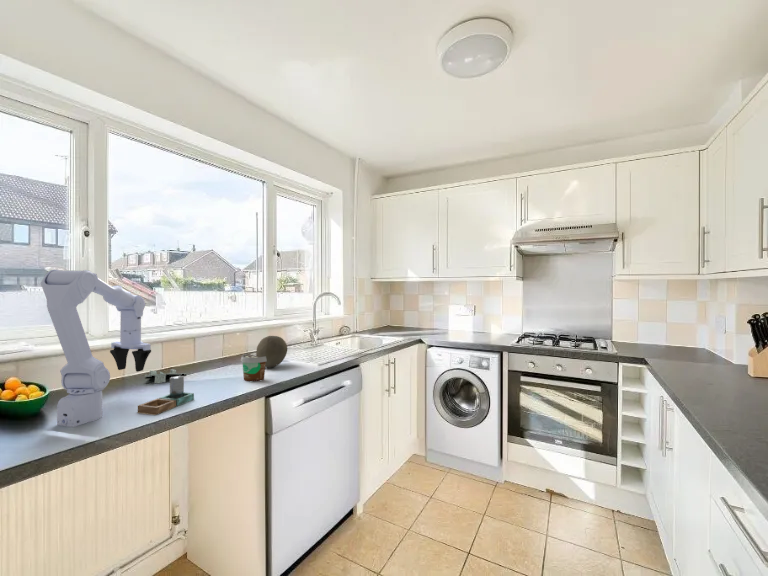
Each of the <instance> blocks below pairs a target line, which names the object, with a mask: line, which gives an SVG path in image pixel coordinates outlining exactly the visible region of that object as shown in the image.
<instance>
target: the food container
mask: <svg viewBox="0 0 768 576" xmlns="http://www.w3.org/2000/svg"><path fill="white" fill-rule="evenodd" d="M266 361H267V359H266V356H265V357H257V356H256V355H251V356H250V355H248V353H244V354H242V355H241V358H240V362H242V374H243V381H245V382H250V381H253V382H261V381H260V380H262V381H265V374H266V367H265V363H266Z"/></svg>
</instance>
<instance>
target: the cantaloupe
mask: <svg viewBox="0 0 768 576" xmlns="http://www.w3.org/2000/svg"><path fill="white" fill-rule="evenodd" d="M255 353H256V354H255V356H257V357H265V356H266V359H267V361H266V363H265V368H267V369H268V368H269V369H272V368H275V367H278V366H279V365H280V364H281V363H282V362H283V361H284V359H285V358H286V357H287V354H288V344H287V343H286V341H285V340H284V338H283V337H281V336H279V335H278V336H277V335H268V336H266V337H263V338H262V339H261V340H260V341H259V342H258V344H257V346H256V352H255Z"/></svg>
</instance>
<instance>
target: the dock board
mask: <svg viewBox="0 0 768 576" xmlns="http://www.w3.org/2000/svg"><path fill="white" fill-rule="evenodd" d="M193 400H195V394H194V392H184V396H183V397H181V398H178V399H173V398H170V393H169V394H166V395H163V396H161V397H158V398H155V399H151V400H149V401H147V402H144V403H141V404H138V405H137V412H136V414H143V415H151V416H156V415H159V414H162V413H163V412H167V411H169V410H171V409H174V408H176V407H179V406H181V405H184V404H186V403H189V402H191V401H193Z"/></svg>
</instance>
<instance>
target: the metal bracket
mask: <svg viewBox="0 0 768 576" xmlns="http://www.w3.org/2000/svg"><path fill="white" fill-rule="evenodd" d="M182 374H184V375H187V373H185V372H184V373H183V372H181V373H177V370H176V369H173V368H171V369H170V371H169V372H168V373H164V372H162V371H159V373H157V371H156V370H152V369H151V370H149V374H144V377H145V378H150V377H151V378H152V376H154V384H155V383H156V384H163V383H162V382H165V383H166V378H167V377H168V376H167V375H169V376H183V375H182Z"/></svg>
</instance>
